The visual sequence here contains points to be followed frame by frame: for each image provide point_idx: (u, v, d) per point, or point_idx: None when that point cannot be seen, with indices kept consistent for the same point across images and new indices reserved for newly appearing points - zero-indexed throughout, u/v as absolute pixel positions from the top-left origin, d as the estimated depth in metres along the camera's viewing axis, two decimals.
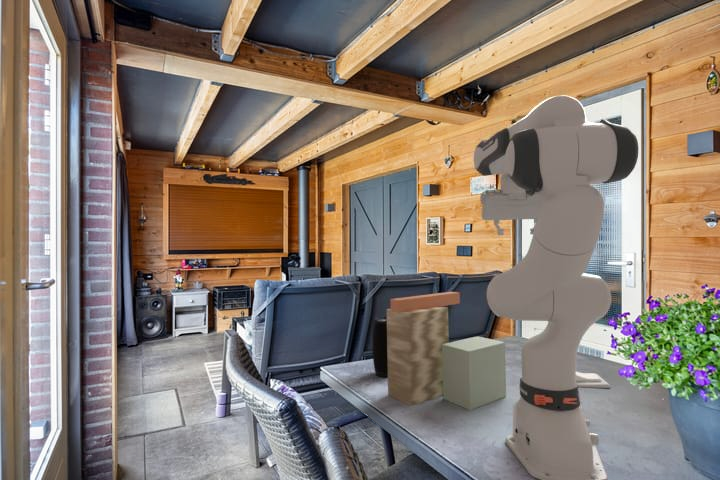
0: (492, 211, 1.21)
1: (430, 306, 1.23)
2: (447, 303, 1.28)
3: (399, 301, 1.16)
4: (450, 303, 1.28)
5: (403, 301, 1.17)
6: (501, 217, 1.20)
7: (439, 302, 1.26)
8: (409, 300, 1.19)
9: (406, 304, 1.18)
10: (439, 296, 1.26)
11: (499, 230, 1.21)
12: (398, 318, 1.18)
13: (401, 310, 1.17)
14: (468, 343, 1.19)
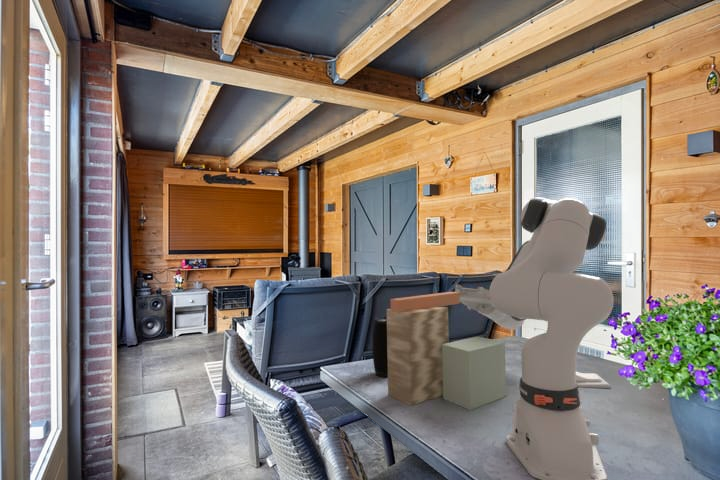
0: None
1: (430, 306, 1.23)
2: (447, 303, 1.28)
3: (399, 301, 1.16)
4: (450, 303, 1.28)
5: (403, 301, 1.17)
6: (486, 300, 1.34)
7: (439, 302, 1.26)
8: (409, 300, 1.19)
9: (406, 304, 1.18)
10: (439, 296, 1.26)
11: (481, 293, 1.32)
12: (398, 318, 1.18)
13: (401, 310, 1.17)
14: (468, 343, 1.19)
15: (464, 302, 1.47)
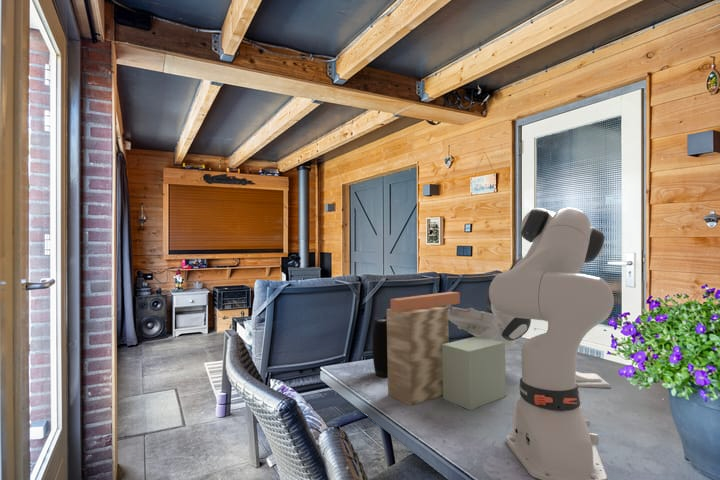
0: (486, 325, 1.31)
1: (430, 306, 1.23)
2: (447, 303, 1.28)
3: (399, 301, 1.16)
4: (450, 303, 1.28)
5: (403, 301, 1.17)
6: (476, 321, 1.32)
7: (439, 302, 1.26)
8: (409, 300, 1.19)
9: (406, 304, 1.18)
10: (439, 296, 1.26)
11: (472, 314, 1.30)
12: (398, 318, 1.18)
13: (401, 310, 1.17)
14: (468, 343, 1.19)
15: (454, 322, 1.44)
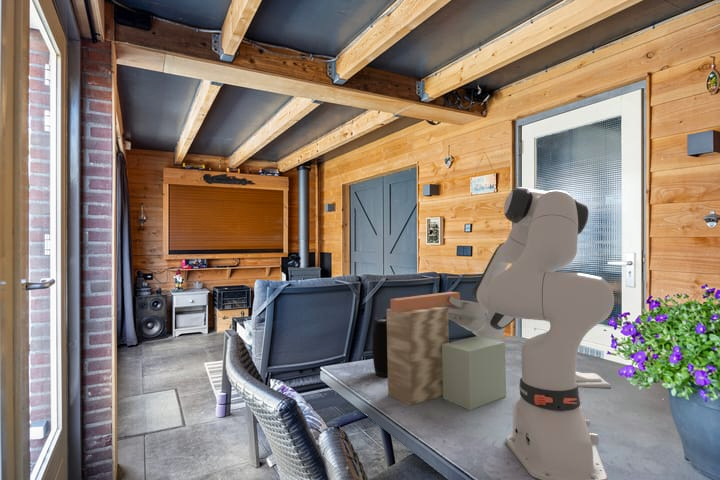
0: (472, 314, 1.26)
1: (430, 306, 1.23)
2: (447, 303, 1.28)
3: (399, 301, 1.16)
4: (450, 303, 1.28)
5: (403, 301, 1.17)
6: (462, 311, 1.27)
7: (439, 302, 1.26)
8: (409, 300, 1.19)
9: (406, 304, 1.18)
10: (439, 296, 1.26)
11: (451, 303, 1.27)
12: (398, 318, 1.18)
13: (401, 310, 1.17)
14: (468, 343, 1.19)
15: None
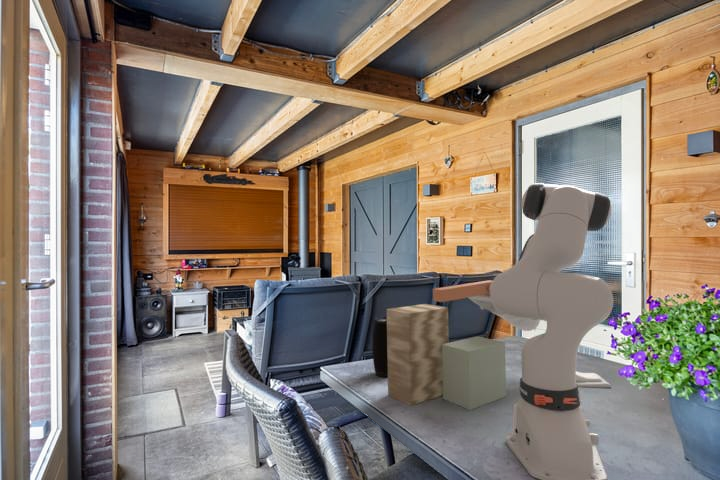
0: None
1: (471, 295, 1.23)
2: (486, 292, 1.27)
3: (442, 291, 1.16)
4: (489, 292, 1.28)
5: (446, 290, 1.17)
6: None
7: (479, 291, 1.25)
8: (452, 289, 1.18)
9: (449, 293, 1.17)
10: (479, 285, 1.25)
11: None
12: (398, 318, 1.18)
13: (445, 299, 1.16)
14: (468, 343, 1.19)
15: (477, 302, 1.39)
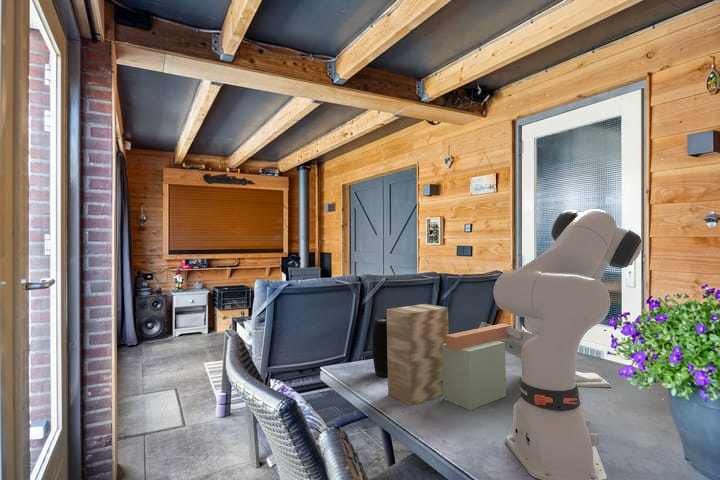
0: None
1: (484, 341, 1.19)
2: (500, 337, 1.24)
3: (456, 338, 1.12)
4: (503, 337, 1.24)
5: (459, 338, 1.13)
6: (515, 341, 1.23)
7: (492, 336, 1.21)
8: (465, 336, 1.14)
9: (462, 341, 1.14)
10: (493, 330, 1.22)
11: (511, 334, 1.21)
12: (398, 318, 1.18)
13: (458, 347, 1.13)
14: None
15: None
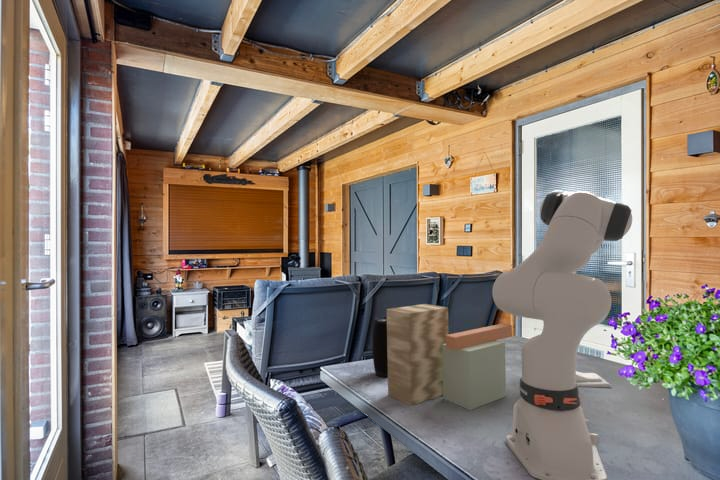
0: None
1: (484, 341, 1.19)
2: (500, 337, 1.24)
3: (456, 338, 1.12)
4: (503, 337, 1.24)
5: (459, 338, 1.13)
6: None
7: (492, 336, 1.21)
8: (465, 336, 1.14)
9: (462, 341, 1.14)
10: (493, 330, 1.22)
11: None
12: (398, 318, 1.18)
13: (458, 347, 1.13)
14: None
15: None
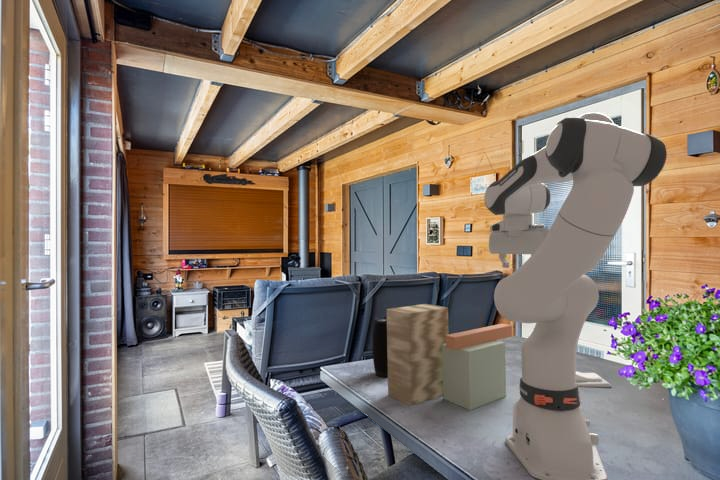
0: None
1: (484, 341, 1.19)
2: (500, 337, 1.24)
3: (456, 338, 1.12)
4: (503, 337, 1.24)
5: (459, 338, 1.13)
6: None
7: (492, 336, 1.21)
8: (465, 336, 1.14)
9: (462, 341, 1.14)
10: (493, 330, 1.22)
11: None
12: (398, 318, 1.18)
13: (458, 347, 1.13)
14: None
15: None
